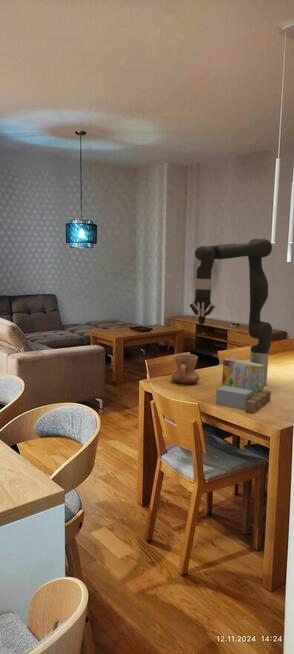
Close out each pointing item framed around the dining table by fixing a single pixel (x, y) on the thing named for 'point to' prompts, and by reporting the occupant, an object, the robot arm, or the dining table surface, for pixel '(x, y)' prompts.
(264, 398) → the notched wooden bar
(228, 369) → the snack box
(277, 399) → the dining table surface
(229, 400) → the brick
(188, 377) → the ceramic jug
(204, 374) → the dining table surface
